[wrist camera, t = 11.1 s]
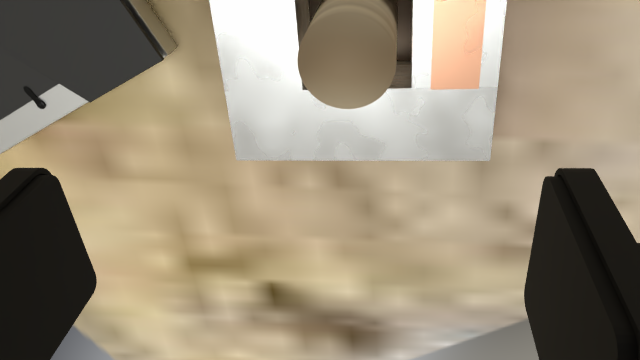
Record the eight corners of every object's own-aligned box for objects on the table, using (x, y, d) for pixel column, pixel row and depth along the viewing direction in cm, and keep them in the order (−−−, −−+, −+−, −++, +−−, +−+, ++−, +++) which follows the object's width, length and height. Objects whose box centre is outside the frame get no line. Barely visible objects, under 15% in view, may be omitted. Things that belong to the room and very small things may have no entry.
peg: (318, -26, 25) (292, 15, 19) (398, -30, 25) (396, 11, 19) (323, 50, 27) (301, 109, 21) (397, 49, 26) (396, 108, 21)
